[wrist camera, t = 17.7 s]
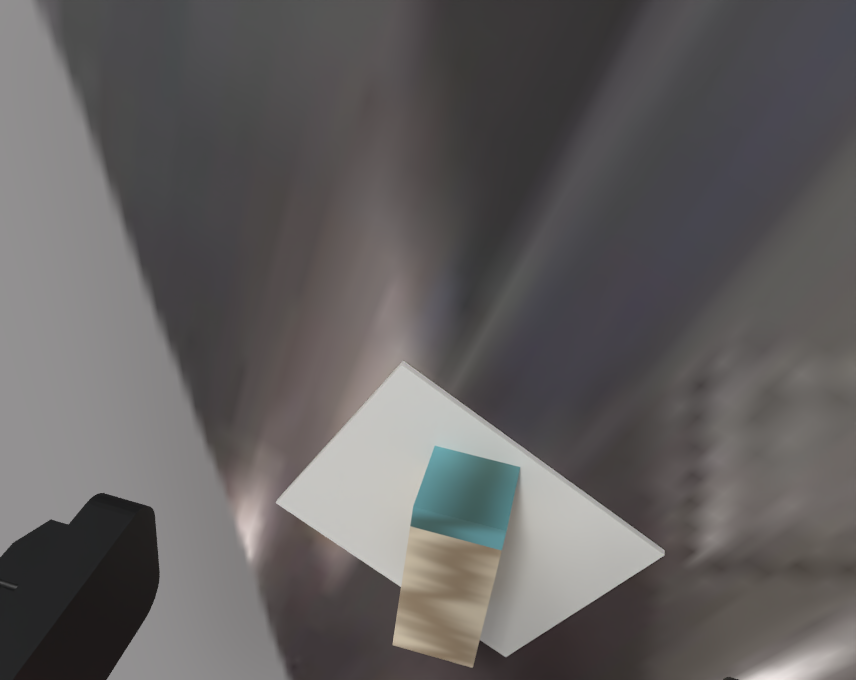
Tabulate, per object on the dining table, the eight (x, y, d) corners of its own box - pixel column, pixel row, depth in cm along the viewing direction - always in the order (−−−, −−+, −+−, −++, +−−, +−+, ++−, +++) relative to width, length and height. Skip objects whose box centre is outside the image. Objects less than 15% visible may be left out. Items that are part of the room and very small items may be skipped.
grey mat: (664, 550, 47) (664, 555, 47) (506, 652, 56) (505, 657, 55) (403, 360, 44) (401, 364, 44) (277, 498, 53) (275, 502, 52)
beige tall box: (392, 645, 49) (413, 506, 42) (413, 581, 53) (434, 445, 46) (472, 667, 49) (506, 531, 42) (487, 601, 53) (520, 467, 46)
